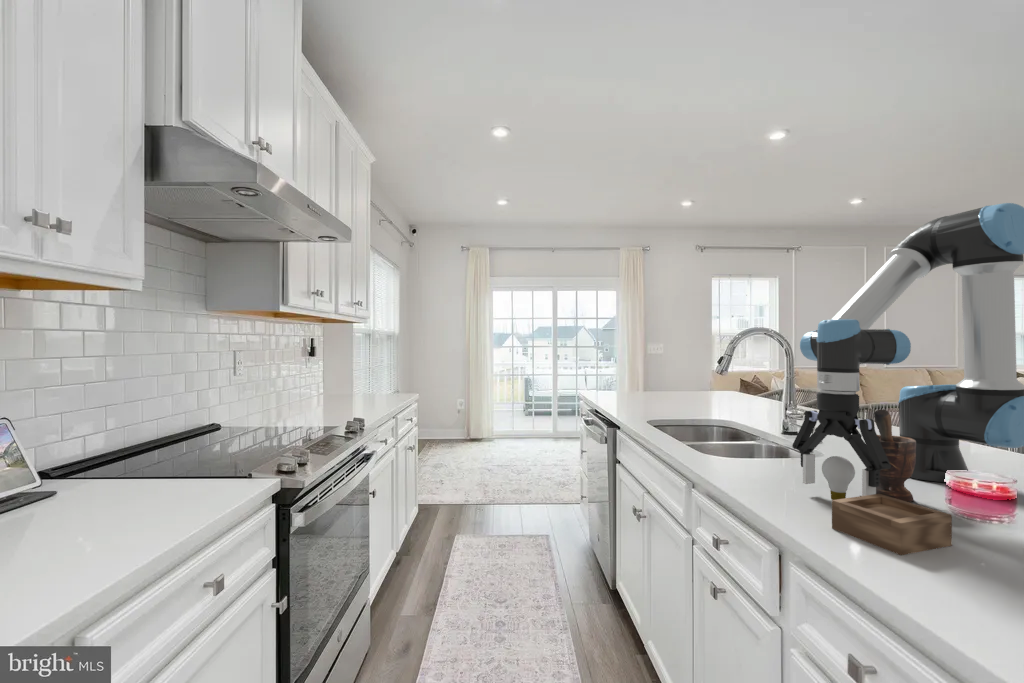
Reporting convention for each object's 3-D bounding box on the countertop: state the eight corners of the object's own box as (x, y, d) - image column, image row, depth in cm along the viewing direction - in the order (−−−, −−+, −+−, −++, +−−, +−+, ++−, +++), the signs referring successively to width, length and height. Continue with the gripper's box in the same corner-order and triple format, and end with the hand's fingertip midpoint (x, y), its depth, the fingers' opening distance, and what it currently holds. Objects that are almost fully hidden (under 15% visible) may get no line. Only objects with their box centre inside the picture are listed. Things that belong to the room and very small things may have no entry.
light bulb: (849, 500, 106) (849, 454, 106) (859, 509, 100) (859, 460, 100) (818, 497, 108) (818, 452, 108) (826, 506, 102) (825, 458, 102)
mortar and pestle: (923, 511, 99) (923, 412, 99) (870, 504, 103) (870, 409, 103) (912, 495, 109) (911, 405, 109) (864, 489, 113) (864, 403, 113)
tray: (879, 520, 94) (879, 493, 94) (951, 545, 82) (951, 514, 82) (831, 528, 90) (831, 500, 90) (900, 555, 79) (900, 523, 79)
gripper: (775, 387, 115) (775, 477, 115) (885, 399, 91) (884, 513, 91) (800, 386, 117) (800, 475, 117) (913, 398, 93) (913, 509, 93)
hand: (837, 492), depth 104 cm, fingers open, 13 cm apart
